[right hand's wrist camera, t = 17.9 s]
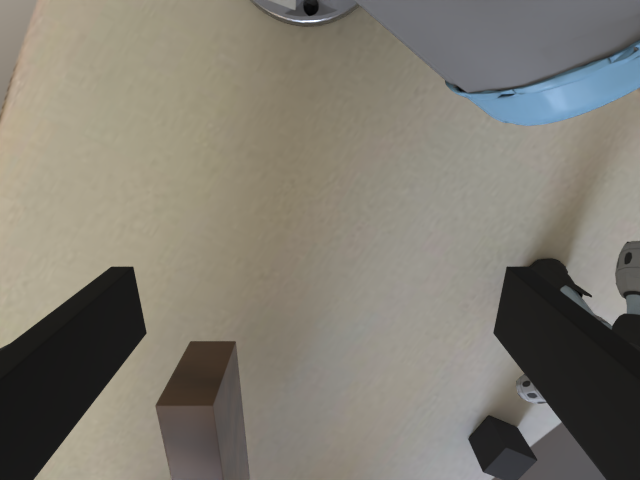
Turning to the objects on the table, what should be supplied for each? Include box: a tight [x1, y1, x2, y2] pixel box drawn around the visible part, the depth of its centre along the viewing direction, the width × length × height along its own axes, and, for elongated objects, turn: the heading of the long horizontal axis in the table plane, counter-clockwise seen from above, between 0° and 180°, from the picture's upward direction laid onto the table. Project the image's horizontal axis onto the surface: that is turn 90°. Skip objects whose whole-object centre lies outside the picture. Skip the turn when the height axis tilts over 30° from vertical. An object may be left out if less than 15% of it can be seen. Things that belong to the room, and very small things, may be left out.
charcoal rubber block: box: [468, 416, 537, 480], centre depth 48 cm, size 5×5×5 cm
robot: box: [516, 241, 640, 403], centre depth 33 cm, size 20×5×20 cm, turn 156°
